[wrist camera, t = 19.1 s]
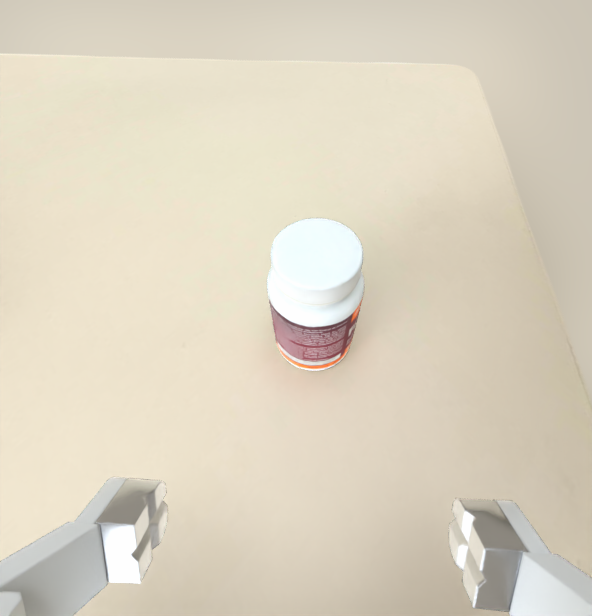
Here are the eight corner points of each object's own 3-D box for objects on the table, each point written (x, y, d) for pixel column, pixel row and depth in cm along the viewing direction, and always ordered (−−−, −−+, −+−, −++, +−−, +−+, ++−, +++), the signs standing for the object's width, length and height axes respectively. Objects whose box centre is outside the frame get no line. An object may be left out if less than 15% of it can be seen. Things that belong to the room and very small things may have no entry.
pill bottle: (360, 364, 21) (388, 286, 14) (282, 379, 21) (270, 306, 14) (340, 299, 24) (356, 203, 17) (270, 311, 23) (254, 219, 16)
